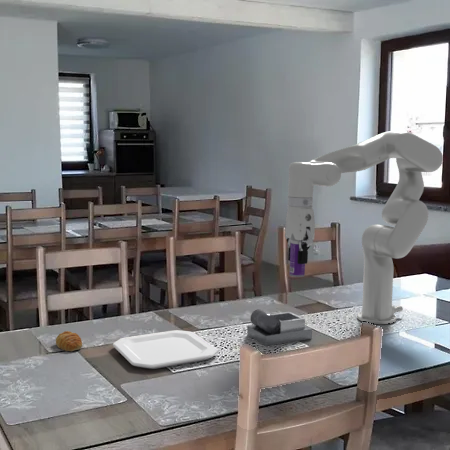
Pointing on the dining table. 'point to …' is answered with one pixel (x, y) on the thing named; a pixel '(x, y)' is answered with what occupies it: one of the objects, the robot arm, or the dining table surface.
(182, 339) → the plate
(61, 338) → the pastry
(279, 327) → the block
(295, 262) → the container
